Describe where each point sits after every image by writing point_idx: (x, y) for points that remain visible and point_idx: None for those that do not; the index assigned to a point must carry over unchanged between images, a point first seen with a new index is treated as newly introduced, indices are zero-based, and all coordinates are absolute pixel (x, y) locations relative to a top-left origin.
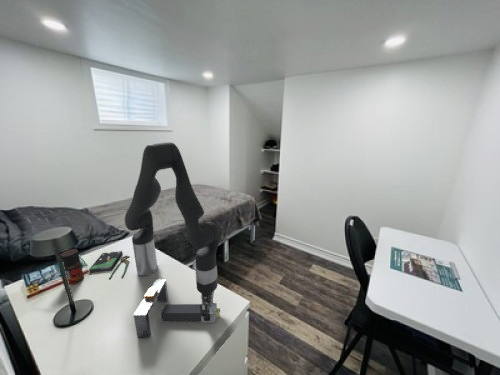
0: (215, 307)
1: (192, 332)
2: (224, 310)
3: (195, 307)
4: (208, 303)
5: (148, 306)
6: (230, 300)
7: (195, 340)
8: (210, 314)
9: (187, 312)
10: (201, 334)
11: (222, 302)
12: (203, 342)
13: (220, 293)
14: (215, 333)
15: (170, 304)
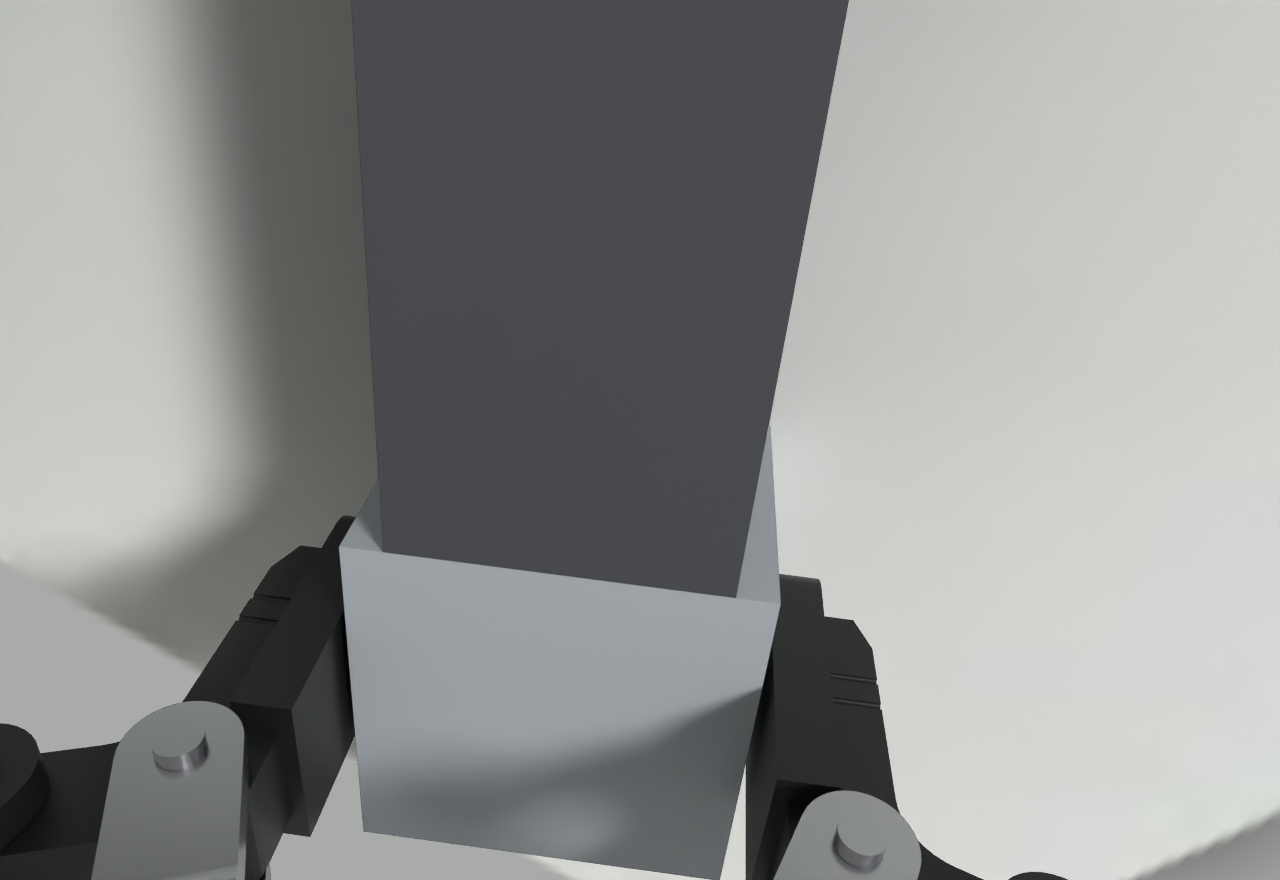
0: (570, 854)
1: (169, 190)
2: None
3: (619, 357)
4: (742, 715)
5: None
6: (975, 867)
7: (2, 287)
8: (366, 744)
9: (387, 69)
10: (162, 395)
11: (964, 752)
12: (10, 444)
13: (1272, 731)
14: None
15: None
